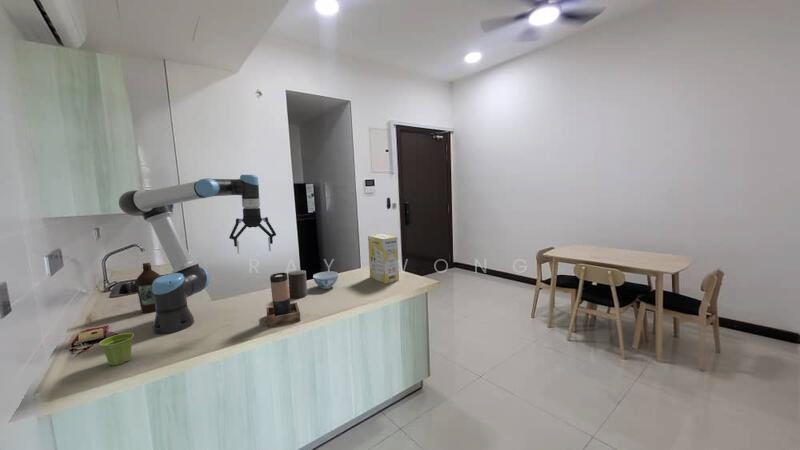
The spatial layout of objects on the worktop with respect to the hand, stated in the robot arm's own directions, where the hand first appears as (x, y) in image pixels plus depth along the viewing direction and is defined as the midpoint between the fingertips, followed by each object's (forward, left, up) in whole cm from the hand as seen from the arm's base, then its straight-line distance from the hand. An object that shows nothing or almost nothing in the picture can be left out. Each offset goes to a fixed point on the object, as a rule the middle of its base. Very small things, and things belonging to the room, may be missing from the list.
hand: (254, 251), depth 150 cm
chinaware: (+37, +24, -31) cm, 54 cm away
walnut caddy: (+10, -12, -31) cm, 35 cm away
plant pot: (-47, -23, -31) cm, 61 cm away
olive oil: (-52, +34, -31) cm, 70 cm away
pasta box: (+74, +22, -31) cm, 83 cm away
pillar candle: (+20, +17, -31) cm, 41 cm away
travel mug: (+10, -12, -30) cm, 34 cm away
